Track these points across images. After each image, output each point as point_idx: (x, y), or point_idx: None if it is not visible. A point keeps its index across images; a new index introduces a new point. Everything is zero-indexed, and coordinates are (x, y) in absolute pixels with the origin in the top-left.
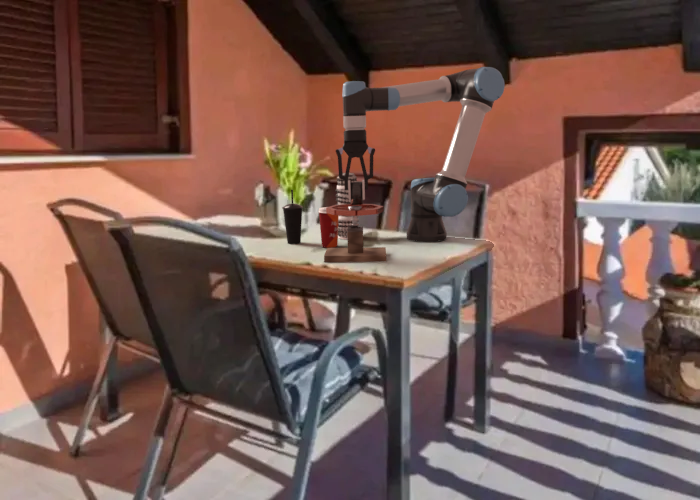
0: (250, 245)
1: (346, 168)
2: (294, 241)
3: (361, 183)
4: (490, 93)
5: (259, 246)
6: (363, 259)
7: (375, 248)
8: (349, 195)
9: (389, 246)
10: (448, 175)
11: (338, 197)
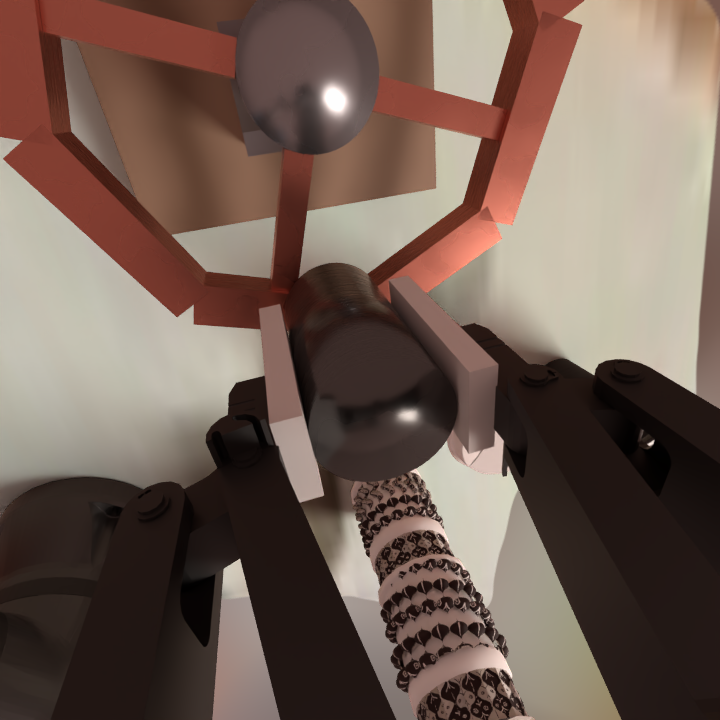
0: (688, 316)
1: (652, 496)
2: (558, 364)
3: (311, 400)
4: None
5: (664, 304)
6: None
7: (194, 198)
8: (412, 293)
9: (192, 380)
10: None
11: (478, 603)
